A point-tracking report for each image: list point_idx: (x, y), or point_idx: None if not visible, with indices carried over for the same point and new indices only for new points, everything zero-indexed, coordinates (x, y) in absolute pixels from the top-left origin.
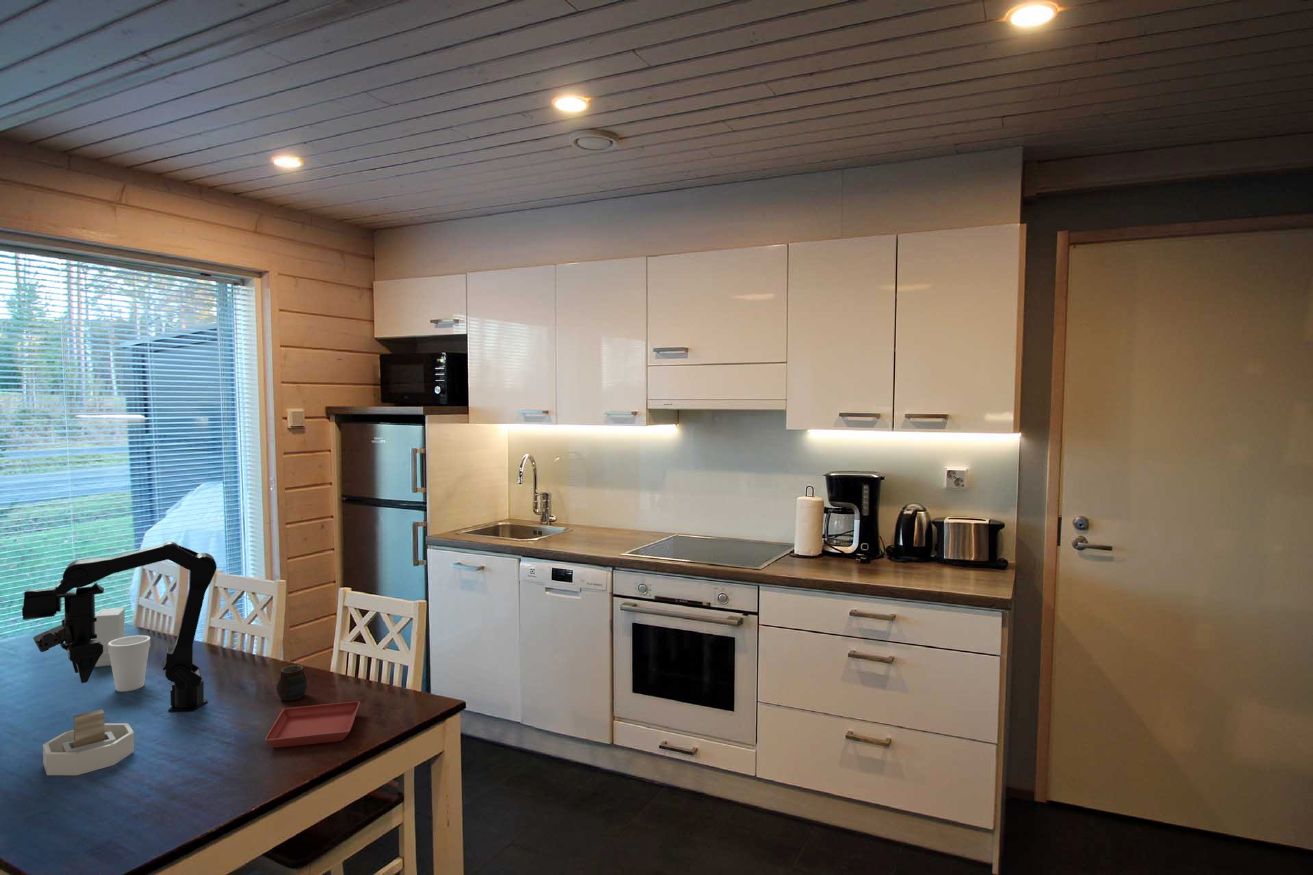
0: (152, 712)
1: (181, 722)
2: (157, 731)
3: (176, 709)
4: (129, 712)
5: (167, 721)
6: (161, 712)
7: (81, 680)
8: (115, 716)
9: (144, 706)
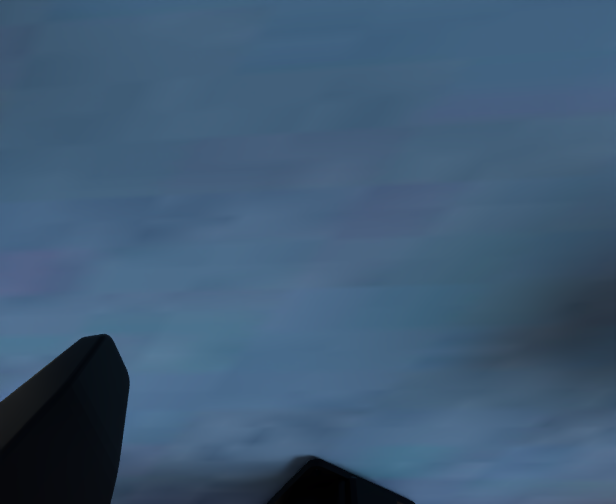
0: (345, 404)
1: (121, 491)
2: None
3: (286, 489)
4: (427, 318)
5: (166, 452)
6: (317, 434)
7: (57, 362)
8: (408, 260)
9: (476, 375)
